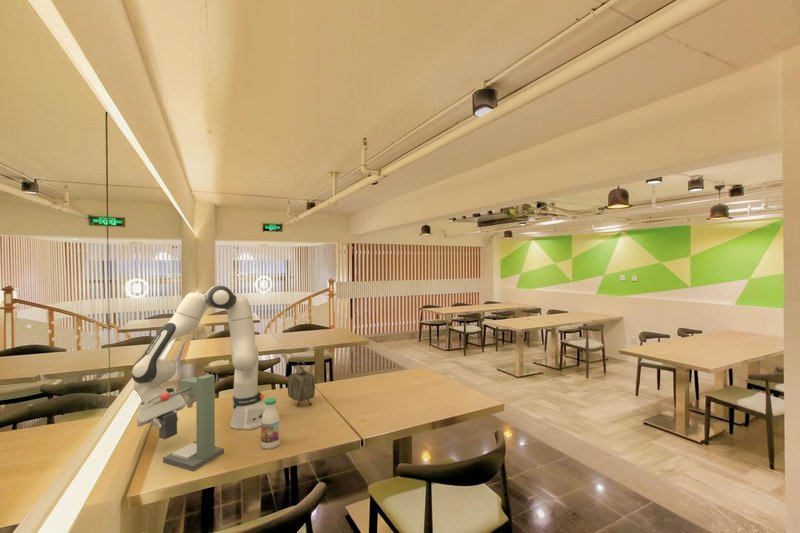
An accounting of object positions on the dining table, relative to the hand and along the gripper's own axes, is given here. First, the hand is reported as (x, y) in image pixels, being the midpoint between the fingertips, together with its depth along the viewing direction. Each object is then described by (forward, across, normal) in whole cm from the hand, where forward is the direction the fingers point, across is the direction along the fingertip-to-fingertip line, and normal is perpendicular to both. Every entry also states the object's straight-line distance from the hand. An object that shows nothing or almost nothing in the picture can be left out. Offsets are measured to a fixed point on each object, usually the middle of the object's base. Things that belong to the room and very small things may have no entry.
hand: (169, 424), depth 148 cm
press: (+19, -4, -3) cm, 20 cm away
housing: (+3, 0, +4) cm, 5 cm away
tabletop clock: (+24, +61, -6) cm, 65 cm away
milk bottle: (+35, +19, -18) cm, 44 cm away
